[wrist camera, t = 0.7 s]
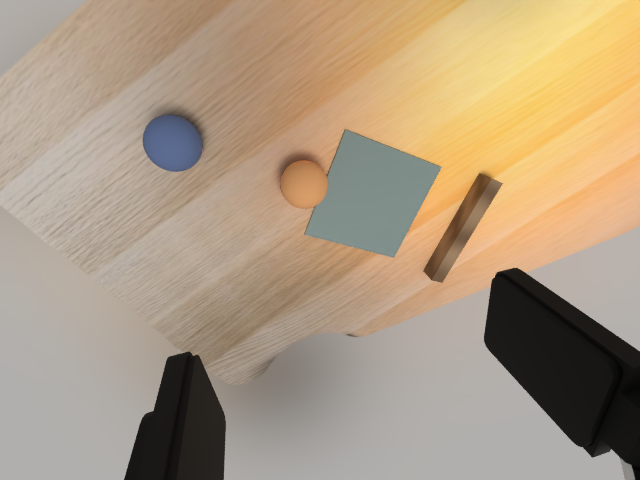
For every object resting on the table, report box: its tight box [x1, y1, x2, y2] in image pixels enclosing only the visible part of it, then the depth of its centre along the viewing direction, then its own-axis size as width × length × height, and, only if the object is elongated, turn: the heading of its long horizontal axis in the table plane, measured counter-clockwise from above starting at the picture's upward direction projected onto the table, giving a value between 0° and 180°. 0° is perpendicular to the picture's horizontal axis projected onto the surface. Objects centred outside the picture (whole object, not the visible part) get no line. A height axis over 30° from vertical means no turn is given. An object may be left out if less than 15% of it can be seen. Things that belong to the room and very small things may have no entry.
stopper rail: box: [424, 174, 503, 283], centre depth 46 cm, size 16×2×2 cm, turn 159°
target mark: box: [305, 130, 441, 257], centre depth 43 cm, size 14×14×1 cm
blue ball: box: [143, 115, 202, 172], centre depth 33 cm, size 5×5×5 cm
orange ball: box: [281, 160, 328, 209], centre depth 37 cm, size 5×5×5 cm
